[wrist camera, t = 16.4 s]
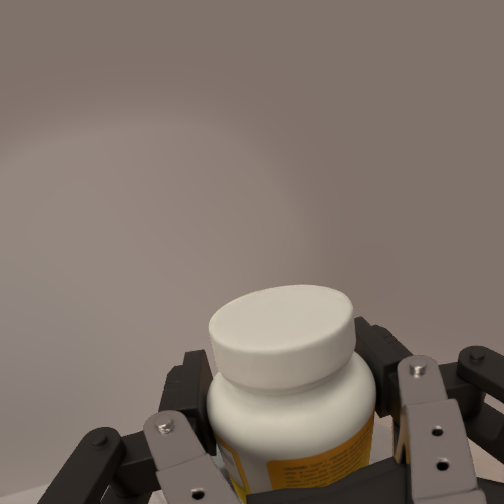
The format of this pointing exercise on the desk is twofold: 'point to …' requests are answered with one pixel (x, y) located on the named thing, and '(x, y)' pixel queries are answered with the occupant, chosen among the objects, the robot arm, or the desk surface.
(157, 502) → the desk surface
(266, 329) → the supplement bottle
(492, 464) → the desk surface
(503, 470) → the desk surface
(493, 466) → the desk surface
